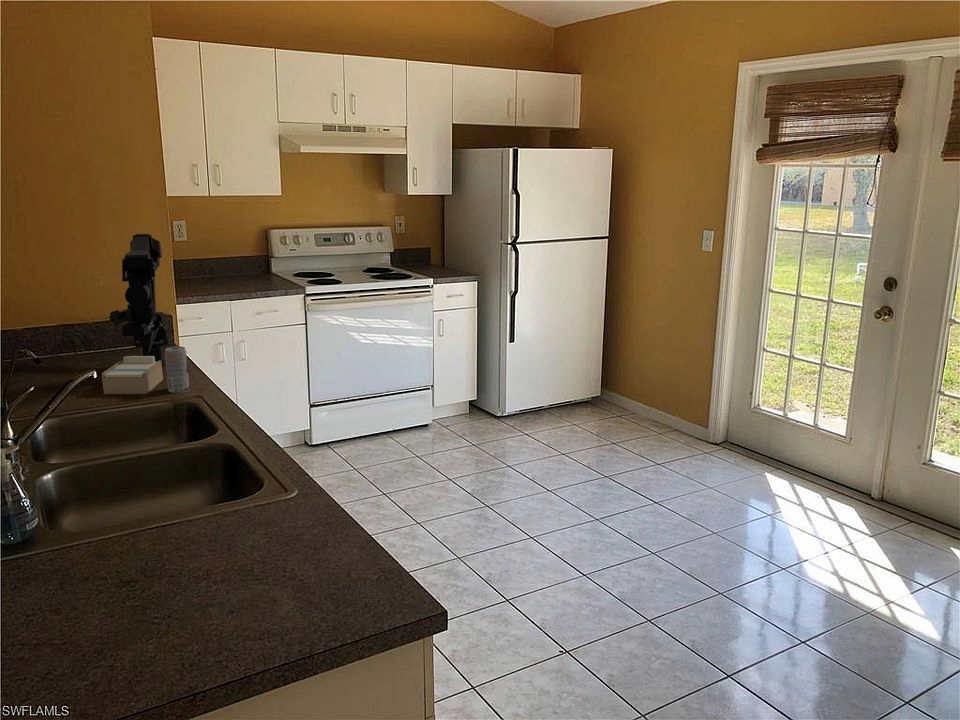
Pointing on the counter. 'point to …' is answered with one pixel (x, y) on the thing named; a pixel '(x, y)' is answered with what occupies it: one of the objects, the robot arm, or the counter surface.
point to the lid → (132, 366)
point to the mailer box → (133, 381)
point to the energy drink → (176, 369)
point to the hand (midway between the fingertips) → (147, 353)
